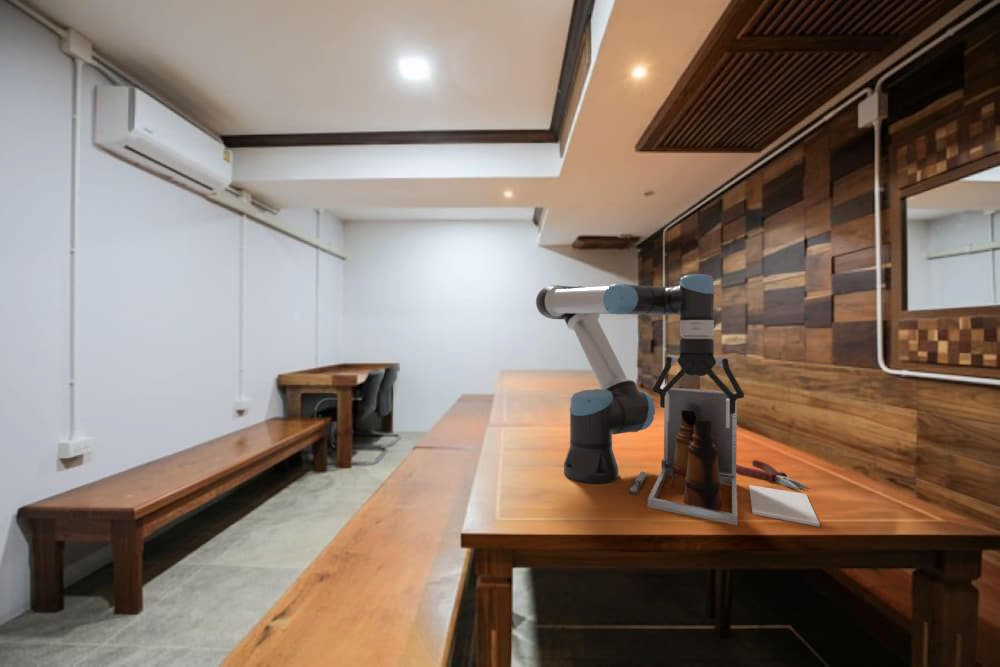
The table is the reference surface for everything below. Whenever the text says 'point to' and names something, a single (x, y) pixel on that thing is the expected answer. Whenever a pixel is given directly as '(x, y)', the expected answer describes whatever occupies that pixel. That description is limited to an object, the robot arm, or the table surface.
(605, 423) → the robot arm
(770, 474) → the pliers
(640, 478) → the rod
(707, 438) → the binoculars
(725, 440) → the case
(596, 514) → the table surface
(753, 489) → the mat
